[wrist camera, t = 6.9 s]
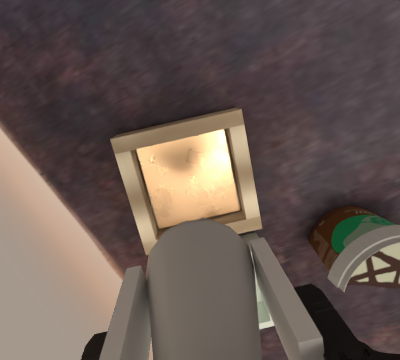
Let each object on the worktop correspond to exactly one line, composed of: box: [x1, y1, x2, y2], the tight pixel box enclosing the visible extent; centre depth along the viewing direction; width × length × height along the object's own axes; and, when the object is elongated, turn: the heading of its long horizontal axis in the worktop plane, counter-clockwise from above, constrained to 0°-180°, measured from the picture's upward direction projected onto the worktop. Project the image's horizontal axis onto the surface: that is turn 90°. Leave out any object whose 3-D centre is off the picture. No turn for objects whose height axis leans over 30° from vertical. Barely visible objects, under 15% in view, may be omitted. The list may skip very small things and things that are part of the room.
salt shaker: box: [146, 218, 262, 360], centre depth 12 cm, size 6×6×13 cm
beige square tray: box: [110, 108, 262, 255], centre depth 32 cm, size 13×13×4 cm
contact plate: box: [136, 129, 240, 229], centre depth 32 cm, size 9×9×1 cm
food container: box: [308, 206, 400, 292], centre depth 32 cm, size 12×6×10 cm, turn 85°
